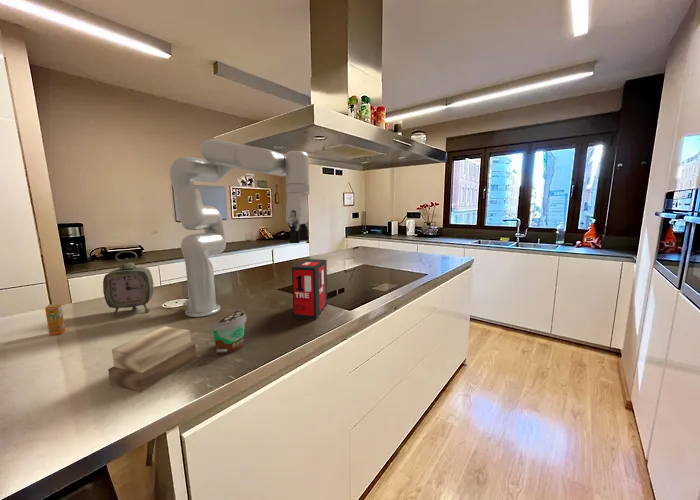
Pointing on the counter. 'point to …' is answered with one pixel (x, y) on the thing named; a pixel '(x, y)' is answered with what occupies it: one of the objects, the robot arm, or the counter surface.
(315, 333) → the counter surface
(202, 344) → the counter surface
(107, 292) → the tabletop clock
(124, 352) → the tower top block
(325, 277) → the cleaning product box
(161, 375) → the tower base block
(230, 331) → the food container
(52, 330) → the supplement box
